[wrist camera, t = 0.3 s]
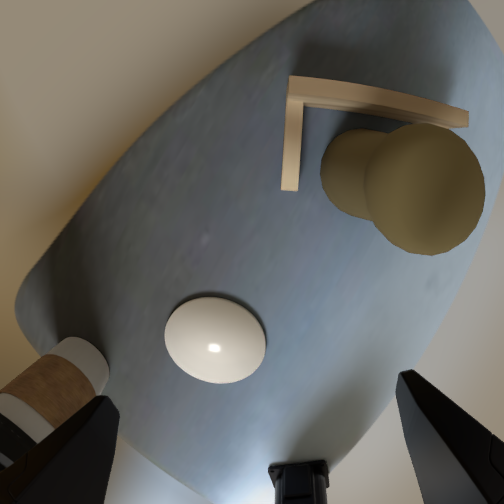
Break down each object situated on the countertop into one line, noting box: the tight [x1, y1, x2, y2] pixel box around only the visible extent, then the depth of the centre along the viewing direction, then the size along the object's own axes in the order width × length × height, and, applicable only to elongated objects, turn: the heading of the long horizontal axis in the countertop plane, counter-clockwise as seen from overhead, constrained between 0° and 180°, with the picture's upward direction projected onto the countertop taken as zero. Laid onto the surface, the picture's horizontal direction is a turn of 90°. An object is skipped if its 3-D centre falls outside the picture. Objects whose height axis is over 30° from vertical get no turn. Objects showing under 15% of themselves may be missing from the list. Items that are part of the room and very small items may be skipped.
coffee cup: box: [0, 337, 109, 472], centre depth 19 cm, size 8×8×15 cm
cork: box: [320, 123, 485, 256], centre depth 14 cm, size 6×6×11 cm
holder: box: [281, 75, 469, 191], centre depth 17 cm, size 6×11×4 cm, turn 87°
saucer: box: [165, 297, 266, 383], centre depth 24 cm, size 8×8×1 cm
